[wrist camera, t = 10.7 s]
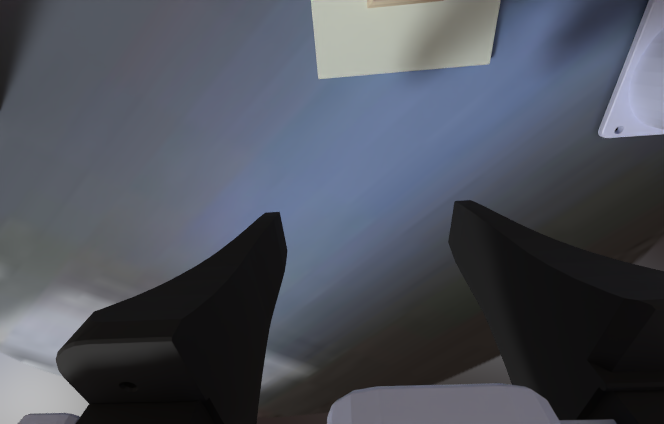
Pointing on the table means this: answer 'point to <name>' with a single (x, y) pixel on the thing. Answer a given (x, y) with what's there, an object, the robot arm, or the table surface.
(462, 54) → the tile
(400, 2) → the birch block
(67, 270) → the table surface
